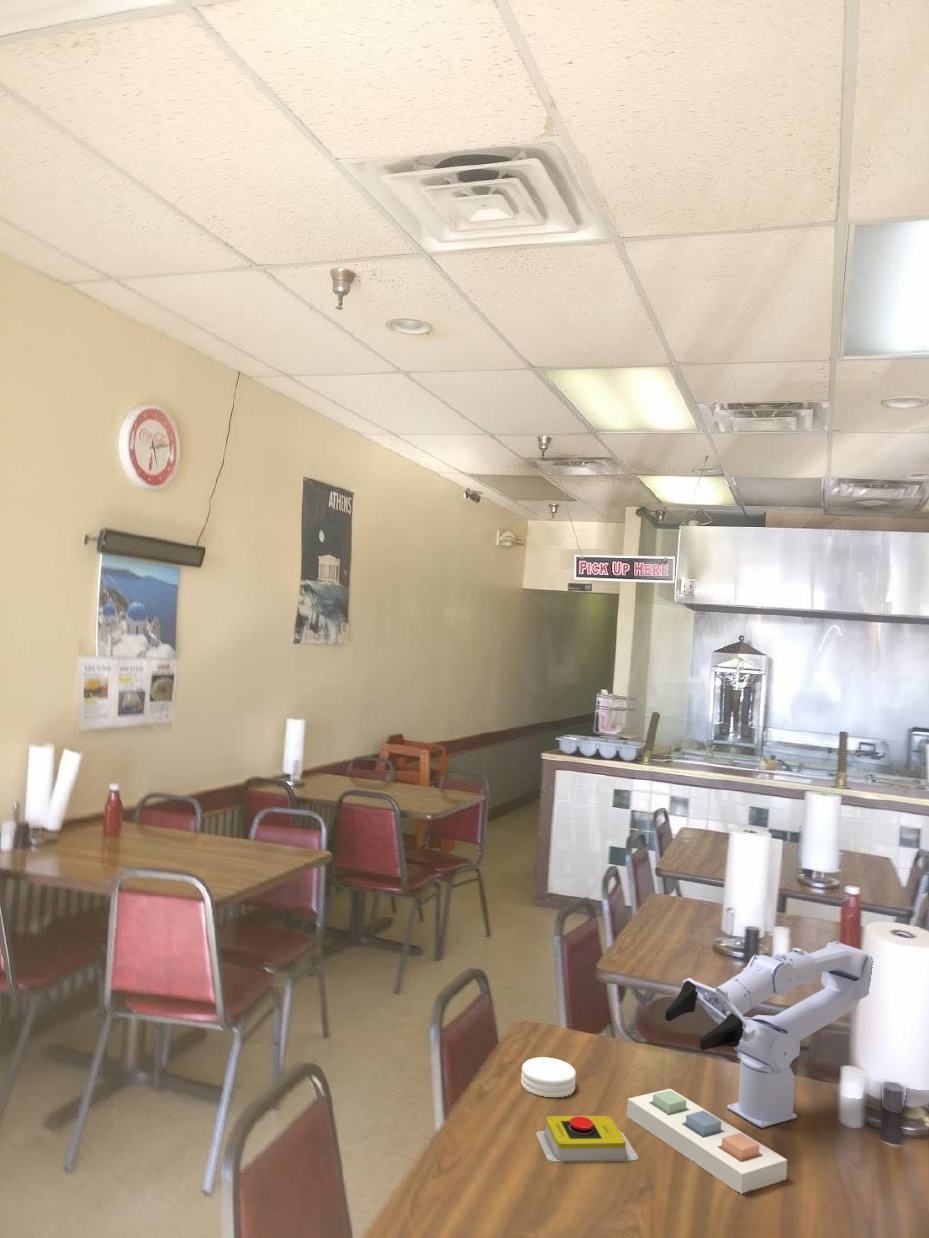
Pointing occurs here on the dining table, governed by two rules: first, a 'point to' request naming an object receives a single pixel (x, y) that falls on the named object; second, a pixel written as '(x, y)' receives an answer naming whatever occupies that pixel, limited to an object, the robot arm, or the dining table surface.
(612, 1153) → the emergency button
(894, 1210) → the dining table surface
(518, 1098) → the dining table surface
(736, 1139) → the terracotta button
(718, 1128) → the slate-blue button
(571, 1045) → the dining table surface
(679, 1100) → the sage-green button
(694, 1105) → the button panel
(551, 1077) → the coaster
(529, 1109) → the dining table surface
